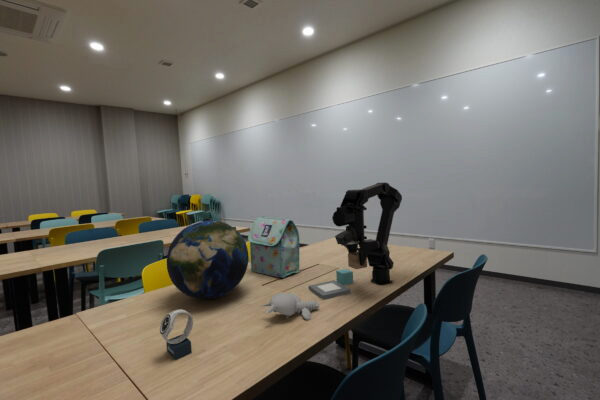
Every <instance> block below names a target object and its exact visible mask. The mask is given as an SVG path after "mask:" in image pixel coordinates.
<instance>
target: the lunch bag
mask: <svg viewBox="0 0 600 400" xmlns="http://www.w3.org/2000/svg"><path fill="white" fill-rule="evenodd" d="M247 241H248V242H249V247H250V249H249V250H250V251H249V252H250V270H251V272H254V273H258V274H263V275H267V276H272V277H276V278H286V277H288V276H289V275H292V274H297V273H298V274H299V273H300V271H301V269H300V232H299V230H298V228H297V225H296V223H295V222H294V220H292V219H285V218H277V217H266V216H261V217H256V219H255V220H254V222H253V223H252V226H251V228H250V231H249V233H248V236H247Z"/></svg>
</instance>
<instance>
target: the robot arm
mask: <svg viewBox="0 0 600 400" xmlns="http://www.w3.org/2000/svg"><path fill="white" fill-rule="evenodd" d="M402 195H403V194H401V192H400V191H399V190H398V189H396V188H395V187H393V186H391V185H390V183H388V182H386V181H385V182H377V183H375V184H372V185H369V186H367V187H364V188H362V189H348V190H346V191H345V194H344V196H343V199H342V202H341V204H340V206H338V207H336V210H335V211H334V213H333V214H332V217H331V218H332V223H333V224H334V225H335V226H336V227H339V228H340V227H343V226H345V230H343V231H340V232H339V233H337V234H335V236H334V238H335V241H336V244H337V245H341V246H344V247H345V248H346V250H347V252H348V253H353V252H359V259H360V265H361V266H363V265H364V263H365V261H366V258H367V264H368V265H369V267H372V271H371V274H372V275H371V277H372V278H370V281H371V282H374V283H376V284H377V285H380V286H381V285H386V284H390V283H393V280H391V278H390V277H391V275H390V273H391V272H390V270H392V269H393V268H394V264H395V263H394V261H393V259H392V258H391V257H390V253H391V252H390V248H389V246H388V242H389V239H390V233H391V230H392V223H393V219H394V214H395V212H396V211H397V210H399V208H400V206H401V204H402V200H403V196H402ZM374 197H377V198H378V199H379V200H380V201H379V205H380V207H381V215H380V219H379V223H378V227H377V232H376V237H375V239H372V238H369V239H367V238H368V237H367V236H365V230H366V229H368V226H367V225H365V215H364V214H365V211H366V210H367V209H368V208H367V207H366V206H364V205H365V204H366V203H368V201H369V199H371V198H374Z"/></svg>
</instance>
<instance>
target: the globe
mask: <svg viewBox="0 0 600 400" xmlns="http://www.w3.org/2000/svg"><path fill="white" fill-rule="evenodd" d="M249 260H250V259H249V249H248V245H247V242H246V241H245V239H244V237H243V236H242V234H241V233H240V232H239V231H238V230H237V229H236V228H235V227H233V226H232V225H230V224H228V223H226V222H223V221H220V220H213V219H211V220H210V219H209V220H208V219H206V220H201V221H200V220H199V221H196V222H193V223H191V224H189V225H187V226H185V228H183V229H181V231H179V233H177V234H176V236H175V237H174V238H173V240H172V241H171V243H170V246H169V247H168V250H167V255H166V269H167V273H168V276H169V279H170V281H171V282H172V284H173V285H174V287H175V288H176V289H177V290H178V291H180V293H182V294H184V295H186V296H187V297H190V298H193V299H196V300H205V301H206V300H213V299H218V298H221V297H224V296H225V295H228V293H230V292H232V291H233V290H234V289H236V288H237V286H239V284H240V283H241V281H242V280H243V278H244V277H245V274H246V273H247V270H248V266H249Z"/></svg>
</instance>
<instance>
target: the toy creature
mask: <svg viewBox="0 0 600 400" xmlns="http://www.w3.org/2000/svg"><path fill="white" fill-rule="evenodd" d="M260 307H268V308H267V310H266V311H265V312H264V313H265V314H270V313H272V312H274V313H279V314H281V315H284V316H285V318H286V319H288V318H289V317H291V316H292V315H294V313H298V314H300V313H301V316H302V317H303V318H304V319H305V320H307V321H308V320H311V319H312V315H311V311H313V310H314V311H317V310H318V309H319V308H320V303H319V302H318V301H316V300H308V301H307V300H305V301H302V300H301V298H300V297H299V296H298V295H296V294H294V293H293V292H289V293H285V292H279V293H276V294H274V295H273V296H272V297H271V298H270V300H269V302H267V303H264V304H262V305H260Z"/></svg>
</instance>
